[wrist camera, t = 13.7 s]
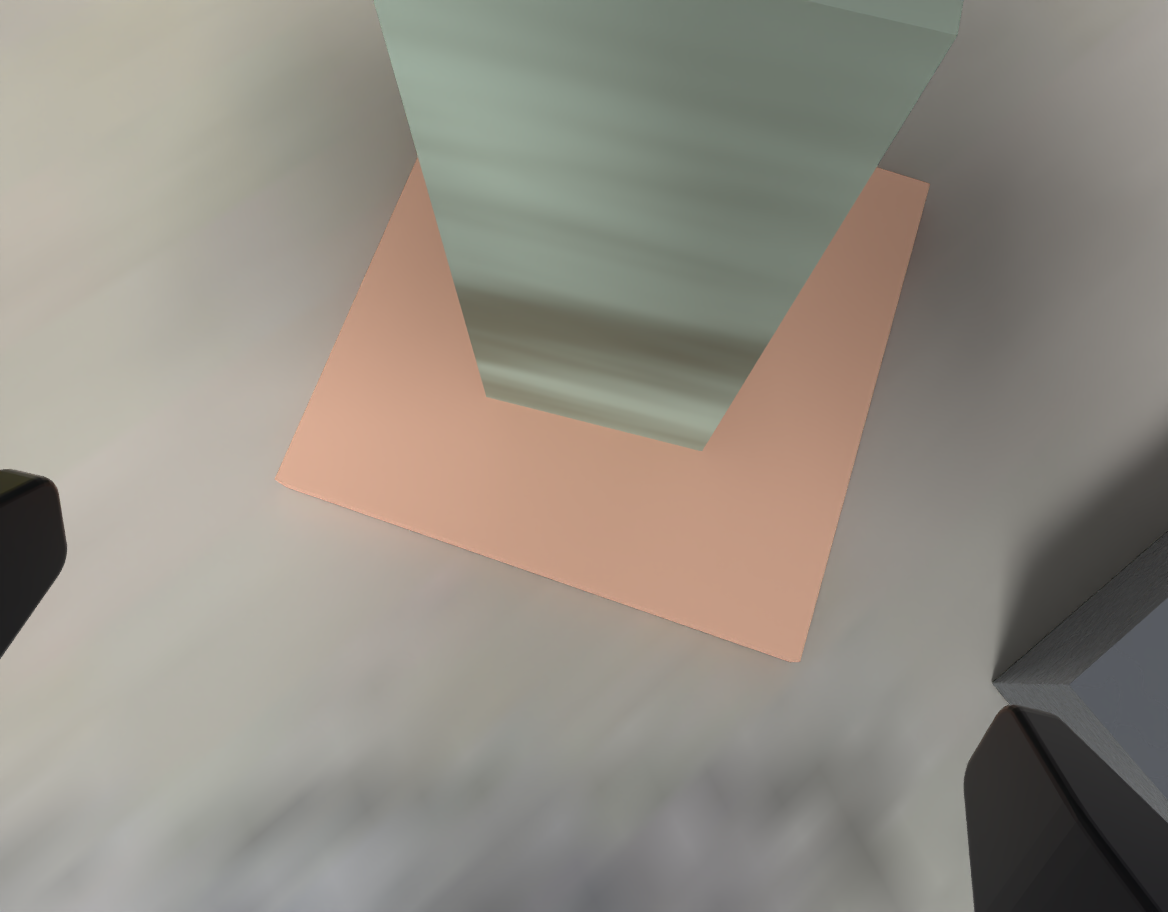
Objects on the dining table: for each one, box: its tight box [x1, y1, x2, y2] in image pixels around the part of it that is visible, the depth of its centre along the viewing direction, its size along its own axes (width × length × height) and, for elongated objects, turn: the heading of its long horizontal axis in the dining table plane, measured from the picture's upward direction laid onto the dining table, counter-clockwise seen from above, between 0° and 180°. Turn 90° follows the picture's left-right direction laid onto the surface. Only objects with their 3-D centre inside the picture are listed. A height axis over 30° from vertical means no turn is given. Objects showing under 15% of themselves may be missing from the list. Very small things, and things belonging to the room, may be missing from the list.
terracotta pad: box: [275, 157, 930, 662], centre depth 20 cm, size 12×12×1 cm
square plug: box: [373, 0, 964, 451], centre depth 14 cm, size 5×5×13 cm
